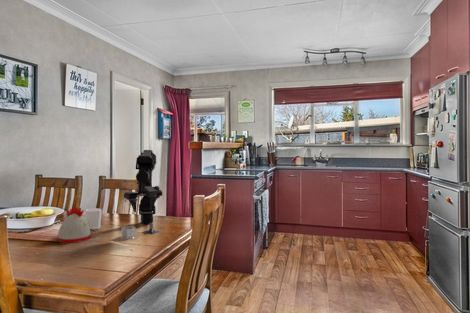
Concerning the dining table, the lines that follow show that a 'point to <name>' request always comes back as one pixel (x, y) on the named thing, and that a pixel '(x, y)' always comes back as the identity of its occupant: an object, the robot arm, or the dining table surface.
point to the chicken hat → (74, 227)
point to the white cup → (93, 218)
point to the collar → (128, 232)
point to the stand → (150, 230)
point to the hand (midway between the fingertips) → (143, 210)
